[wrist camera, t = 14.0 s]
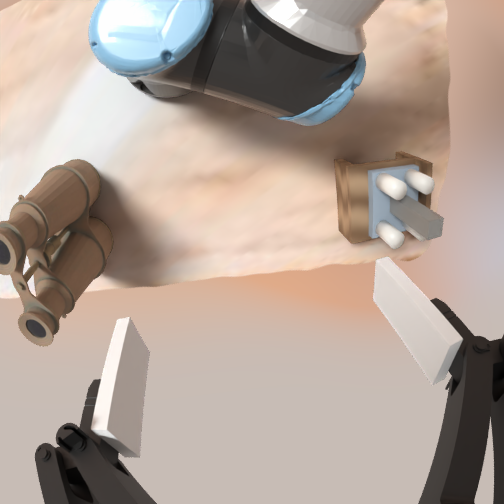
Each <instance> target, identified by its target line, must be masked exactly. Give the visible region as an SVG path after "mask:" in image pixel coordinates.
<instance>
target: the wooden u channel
mask: <svg viewBox="0 0 504 504" xmlns="http://www.w3.org/2000/svg"><path fill="white" fill-rule="evenodd" d="M334 163H335V175H336V188H337V203H338V222H339V231H340V232H341V233H342V234H343V235H344V236H345V237H346V238H347V239H348V240H349V242H350V243H351V244H354V243H359V242H363V241H367V240H371V239H372V238H371V237H370V236H369V193H368V170H375V169H382V168H389V167H397V166H405V165H413V164H414V165H417V166H419V172H421V173H423V174H425V175H427V176H429V177H431V178H432V163H431V162H428V161H426V160H423V159H421V158H418V157H416V156H413V155H410V154H408V153H405V152H402V151H401V152H396V159H392V160H384V161H376V162H369V163H362V164H355V165H354V164H352V163H350V162H348V161H346V160H343V159H336V160H334ZM418 202H419V203H421V204H422V205H424V206H426V207H427V208H429V209H430V205H431V193H430V194H428V195H426V194H424V193H422V192H420V191H418ZM406 231H407V230H406ZM402 232H403V231H402ZM378 238H379V237H378ZM374 239H375V238H374Z"/></svg>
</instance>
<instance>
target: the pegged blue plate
mask: <svg viewBox="0 0 504 504" xmlns="http://www.w3.org/2000/svg"><path fill="white" fill-rule="evenodd" d="M433 189H434V180H433V178H431V177H429V176H427V175H425V174H423V173H421V172H419V166H417V165H414V164H413V165H405V166H397V167H389V168H382V169H375V170H368V193H369V236H370V237H371V238H372V239H374V238H378V237H380V238H381V239H383V240H384V241H385V242H386V243H387V244H388V245H389V246H390V247H391V248H393V249H397V248H399V247H400V246H401V245H402V244H403V242H404V235H403V233H401V232H402V231H406V230H407V231H408V232H410V233H411V234H412V235H413V236H415V237H416V238H417V239H418V240H420V241H425V240H430V239H433V238H437V237H440V236H441V235H442V227H443V219H444V218H443V217H441V216H440V215H438V214H437V213H435V212H434V211H432V210H430V209H429V208H427V207H426V206H424V205H422V204H421V203H419V202H418V191H420V192H422V193H424V194H426V195H428V194H430V193H431V192H432V191H433Z"/></svg>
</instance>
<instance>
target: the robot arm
mask: <svg viewBox="0 0 504 504" xmlns="http://www.w3.org/2000/svg"><path fill="white" fill-rule="evenodd" d="M384 1H385V0H100V1H99V2H98V4H97V6H96V7H95V9H94V11H93V14H92V16H91V20H90V24H89V43H90V46H91V49H92V51H93V53H94V55H95V56H96V58H97V59H98V60H99V61H100V62H101V63H102V64H103V65H105V66H106V67H107V68H109V69H110V71H111V72H114V73H116V74H118V75H121V76H124V77H127V79H128V80H129V81H130V83H131V84H132V85H133V86H134V87H135V88H137V89H138V90H140V91H141V92H143V93H145V94H148V95H151V96H155V97H162V98H171V97H178V96H182V95H185V94H188V93H190V92H192V91H197V92H201V93H204V94H207V95H211V96H214V97H217V98H221V99H224V100H227V101H230V102H233V103H236V104H239V105H242V106H245V107H248V108H251V109H254V110H257V111H260V112H262V113H265V114H268V115H270V116H272V117H274V118H277V119H279V120H287V121H290V122H294V123H297V124H300V125H304V126H314V125H318V124H321V123H324V122H326V121H328V120H329V119H331V118H332V117H334V116H335V115H336V114H338V113H339V112H340V111H341V110H342V109H343V108H344V107H345V106H346V105H347V104H348V103H349V101H350V100H351V99H352V97H353V96H354V89H355V88H356V87H357V86H359V85H360V84H361V82H362V79H363V77H364V73H365V68H366V61H365V56H364V53H363V50H364V49H365V47H366V38H365V34H364V30H363V24H364V23H365V22H366V21H367V20H368V19H369V18H370V16H371V15H372V14H373V13H374V12H375V11H376V10H377V8H378V7H379V6H380V5H381V4H382V3H383V2H384ZM373 300H374V302H375V303H376V305H377V306H378V307H379V309H380V310H381V311H382V313H383V314H384V316H385V317H386V318H387V320H388V321H389V322H390V324H391V325H392V326H393V328H394V330H395V331H396V332H397V334H398V335H399V337H400V338H401V340H402V341H403V343H404V344H405V345H406V347H407V348H408V350H409V351H410V352H411V354H412V356H413V357H414V359H415V360H416V362H417V363H418V365H419V366H420V368H421V369H422V371H423V372H424V374H425V375H426V377H427V379H428V380H429V382H430V383H431V385H434V384H436V383H438V382H440V381H441V380H443V379H445V377H446V375H447V373H448V371H449V372H450V374H451V375H452V377H451V379H450V380H449V382H448V384H447V386H446V390H447V389H448V388H449V392H448V398H447V403H446V409H445V414H444V419H443V424H442V429H441V432H440V437H439V441H438V445H437V448H436V452H435V456H434V459H433V463H432V466H431V469H430V472H429V476H428V478H427V481H426V484H425V487H424V490H423V493H422V496H421V498H420V501H419V503H418V504H474V499H475V495H476V491H477V488H478V484H479V480H480V476H481V471H482V466H483V461H484V456H485V451H486V445H487V438H488V430H489V423H490V416H491V425H492V435H493V448H494V449H493V450H494V501H493V504H504V335H503V337H502V339H498V340H493V341H489V340H487V339H486V338H484V337H481V336H474V335H473V334H472V333H471V332H470V330H469V329H468V328H467V327H466V326H465V325H464V323H463V322H462V321H461V320H460V319H459V318H458V317H456V314H454V312H453V311H451V309H450V308H449V307H448V306H447V305H446V304H445V303H444V302H442V301H441V300H439V299H437V298H435V299H432V300H429V299H428V298H427V297H426V296H425V295H424V293H422V292H421V290H420V289H419V288H418V287H417V286H416V285H415V284H414V283H413V282H412V281H411V280H410V279H409V277H408V276H406V274H405V273H404V272H403V271H402V270H401V269H400V268H399V267H398V266H397V265H396V264H395V263H394V262H393V261H392V260H391V259H390V258H389V257H384V258H381V259H377V260H376V269H375V282H374V294H373ZM149 355H150V352H149V350H148V348H147V347H146V345H145V343H144V341H143V340H142V338H141V336H140V334H139V333H138V331H137V329H136V327H135V325H134V324H133V322H132V320H131V318H130V317H127V318H122V319H118V320H117V322H116V326H115V329H114V332H113V336H112V340H111V343H110V347H109V351H108V354H107V358H106V362H105V366H104V370H103V374H102V378H101V379H99V380H94V381H93V382H92V384H91V385H90V387H89V389H88V393H87V399H86V401H85V407H84V410H83V414H82V419H81V424H80V428H79V427H78V426H77V425H75V424H73V423H66V424H64V425H63V426H62V427H60V428H59V430H58V432H57V434H56V442H57V444H58V445H59V446H60V447H57V448H55V447H53V446H52V445H51V444H48V443H43V444H42V445H40V446H39V447H38V448H37V450H36V453H35V461H36V466H37V472H38V477H39V482H40V486H41V490H42V494H43V498H44V502H45V504H157V503H156V502H155V501H154V500H153V499H152V498H151V497H150V496H149V495H148V494H147V493H146V491H145V490H144V489H143V488H142V487H141V485H140V484H139V483H138V482H137V481H136V480H135V478H134V477H133V476H132V475H131V473H130V472H129V471H128V470H127V469H126V467H125V466H124V464H123V463H122V462H121V461H120V460H119V459H118V453H120V454H122V455H123V456H124V457H140V446H141V431H142V418H143V406H144V396H145V387H146V378H147V370H148V361H149Z"/></svg>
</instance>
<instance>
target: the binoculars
mask: <svg viewBox="0 0 504 504" xmlns="http://www.w3.org/2000/svg"><path fill="white" fill-rule="evenodd" d="M100 188H101V185H100V178H99V175H98V173H97V171H96V169H95V168H94V167H93V166H92V165H91V164H90V163H88V162H86V161H84V160H80V159H75V160H71V161H68V162H66V163H65V164H64V165H58V166H55V167H53V168H51V169H49V170H48V171H47V172H46V173H45V174H44V176H43V177H42V179H41V181H40V182H39V183H38V184H37V185H36V186H35V187H34V188H33V189H32V190H31V191H30V192H29V193H28V194H27V195H26V197H25V198H24V196H22V195H19V198H18V199H19V202H17V203H16V204H15V205H14V206H13V208H12V210H11V212H10V218H9V220H8V221H1V222H0V274H2V275H9V274H10V275H11V278H12V281H13V285H14V287H15V288H16V290H17V292H18V293H19V295H20V298H21V300H22V303H23V306H24V313H23V314H22V315H21V316H20V317H19V319H18V325H19V328H20V330H21V332H22V333H23V335H24V336H25V337H26V338H27V339H28V340H30V341H31V342H33V343H34V344H36V345H39V346H48V345H50V344H51V343H52V341H53V338H54V336H53V335H54V334H56V333H57V332H58V330H59V319H60V317H61V316H62V317H63V318H66V314H68V313H70V312H71V311H72V310H73V308H74V306H75V302H76V301H77V300H78V298H79V297H80V296H81V294H82V293H83V292H84V291H85V289H86V288H87V287H88V286H89V284H90V283H91V282H92V281H93V279H95V278H97V277H99V276H100V275H101V273H102V272H103V270H104V268H105V266H106V259H107V257H108V256H109V255H110V253H111V250H112V248H113V236H112V234H111V231H110V230H109V228H108V227H107V225H106V224H105V223H103V222H102V221H101V220H99V219H97V218H94V217H89V208H90V206H92V205H93V204H94V202H95V201H96V200H97V198H98V196H99V194H100ZM50 237H51V238H50ZM49 238H50V239H49ZM48 239H49V240H48ZM47 240H48V241H47ZM26 255H27V256H28V259H29V264H30V266H31V267H30V268H29V269H28V270H27V272H26V273H25V274H24V275H23V268H24V263H25V259H26ZM51 255H52V256H51ZM33 274H34V284H35V291H36V297H35V296H34V295H32V294H31V292H30V290H29V287H28V284H27V282H28V280H29V279H30V278H31V276H32V275H33Z"/></svg>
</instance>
